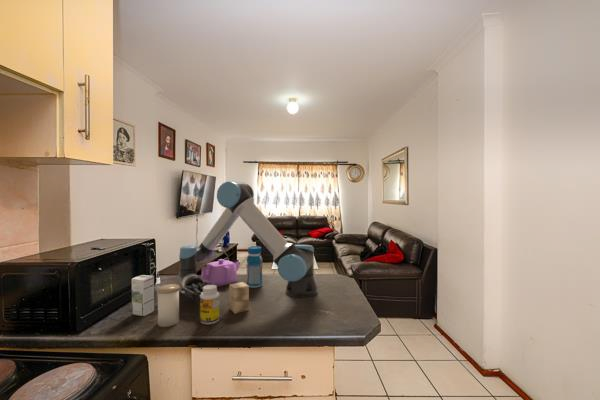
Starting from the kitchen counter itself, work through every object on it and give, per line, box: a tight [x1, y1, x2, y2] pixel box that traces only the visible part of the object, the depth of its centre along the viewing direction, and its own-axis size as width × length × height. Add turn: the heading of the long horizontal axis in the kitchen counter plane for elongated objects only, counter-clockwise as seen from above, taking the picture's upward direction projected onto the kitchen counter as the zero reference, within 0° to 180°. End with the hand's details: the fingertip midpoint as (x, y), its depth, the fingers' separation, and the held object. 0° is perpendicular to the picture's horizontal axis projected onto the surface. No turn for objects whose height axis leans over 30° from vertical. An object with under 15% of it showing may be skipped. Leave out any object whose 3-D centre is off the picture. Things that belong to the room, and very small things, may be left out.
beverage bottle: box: [245, 245, 264, 289], centre depth 144 cm, size 8×8×20 cm
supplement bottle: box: [199, 284, 221, 325], centre depth 103 cm, size 7×7×13 cm
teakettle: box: [200, 258, 241, 287], centre depth 149 cm, size 17×17×12 cm
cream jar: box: [156, 283, 180, 328], centre depth 101 cm, size 7×7×13 cm
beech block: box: [228, 281, 250, 314], centre depth 114 cm, size 6×6×10 cm
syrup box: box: [131, 274, 155, 317], centre depth 109 cm, size 6×6×14 cm
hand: (207, 300), depth 106 cm, fingers closed
